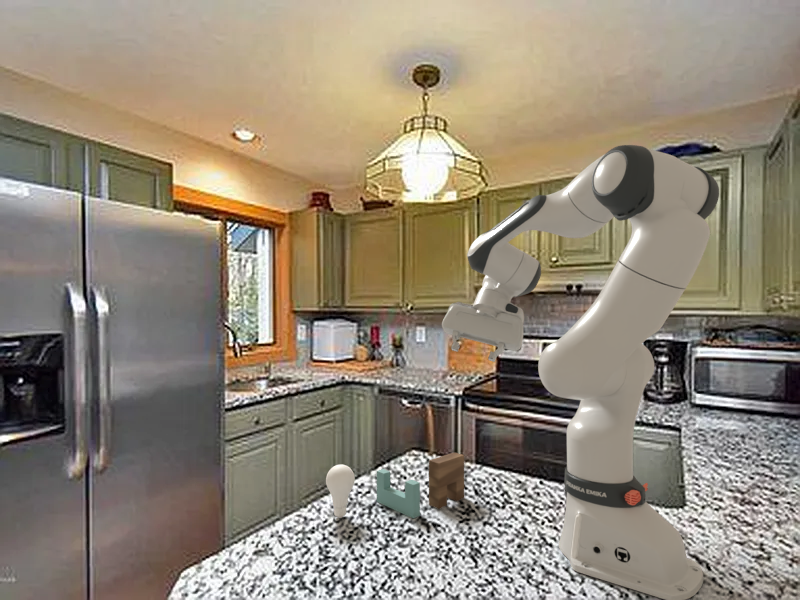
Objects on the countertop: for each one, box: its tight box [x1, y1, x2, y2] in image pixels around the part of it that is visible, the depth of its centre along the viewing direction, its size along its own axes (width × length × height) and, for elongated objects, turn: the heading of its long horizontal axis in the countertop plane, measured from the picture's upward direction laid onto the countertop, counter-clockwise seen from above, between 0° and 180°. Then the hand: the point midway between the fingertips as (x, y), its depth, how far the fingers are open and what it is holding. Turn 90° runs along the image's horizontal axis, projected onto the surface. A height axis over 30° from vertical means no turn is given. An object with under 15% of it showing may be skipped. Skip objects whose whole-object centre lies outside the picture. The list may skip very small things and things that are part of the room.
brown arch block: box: [428, 452, 465, 510], centre depth 104 cm, size 3×9×10 cm, turn 133°
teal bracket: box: [376, 468, 421, 519], centre depth 101 cm, size 12×2×7 cm, turn 43°
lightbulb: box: [325, 464, 356, 519], centre depth 96 cm, size 6×6×11 cm
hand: (472, 354), depth 109 cm, fingers open, 8 cm apart
